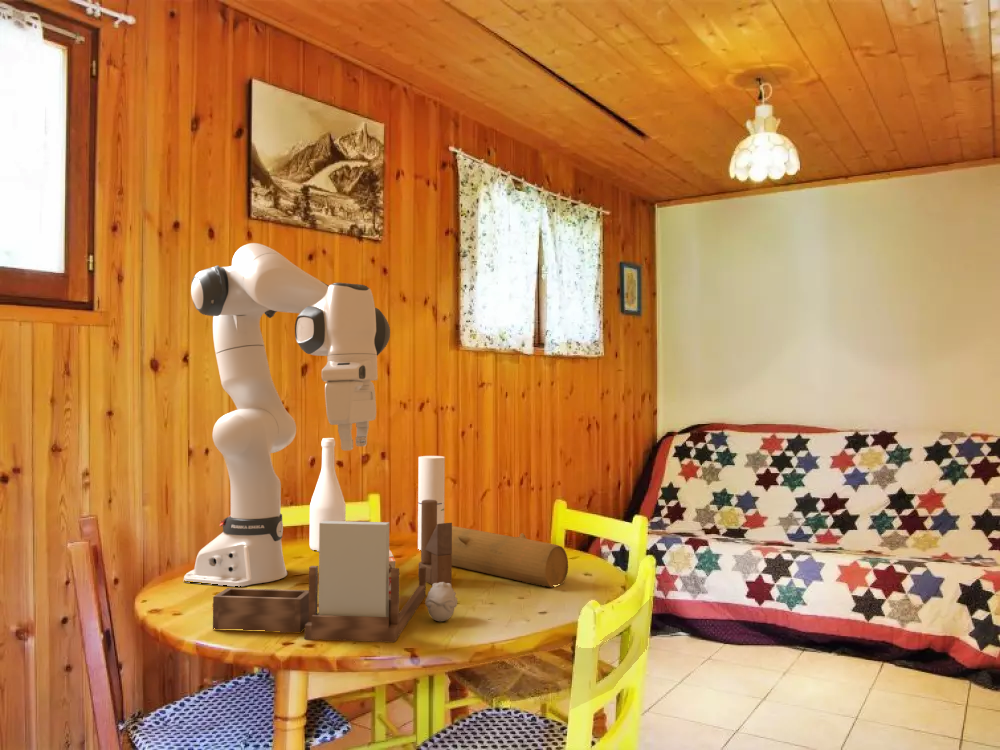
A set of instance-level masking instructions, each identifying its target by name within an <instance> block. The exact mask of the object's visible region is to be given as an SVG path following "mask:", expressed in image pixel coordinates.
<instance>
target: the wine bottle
mask: <svg viewBox="0 0 1000 750" xmlns="http://www.w3.org/2000/svg"><path fill="white" fill-rule="evenodd" d="M320 445H321V448H322V450H321V470H320V473H319V476H318V479H317V482H316V485H315V489H314V491H313V494H312V496H311V501H310V504H309V536H308V537H309V542H308V543H309V548H310V550H312V551H314V550H317V551H316V552H319V523H321V522H323V521H346V511H347V510H346V502H345V497H344V495H343V491H342V488H341V485H340V483H339V480H338V477H337V472H336V468H335V467H336V466H335V447H336V440H335V438H334V437H323V438H322V440H321V444H320Z"/></svg>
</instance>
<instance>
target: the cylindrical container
mask: <svg viewBox="0 0 1000 750" xmlns="http://www.w3.org/2000/svg"><path fill="white" fill-rule="evenodd" d="M445 459H446V457H445V456H442V455H423V456H422V455H420V456H418V469H417V470H418V472H417V473H418V479H417V480H418V486H417V487H418V488H417V490H418V491H417V494H418V495H417V497H418V498H417V502H418V503H417V505H418V506H417V510H418V511H417V550H418V549H419V550H418V551H420V550H421V517H422V501H423V500H436V501H437V524H441V523H445V481H446V480H445V479H446V477H445V471H446V470H445V469H446V468H445V467H446V466H445V462H446V461H445Z"/></svg>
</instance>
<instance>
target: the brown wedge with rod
mask: <svg viewBox="0 0 1000 750" xmlns="http://www.w3.org/2000/svg"><path fill="white" fill-rule="evenodd" d="M452 526H453V523H452V522H444V523H441V524H437V501H436V500H423V501H422V517H421V551H420V552H421V554H420V560H421V561H419V562H418V569H419V568H420V567H426V583H428V584H431V586H432V585H433V584H434V583H439V582H445V583H450V584H451V585H452V570H453V569H452V567H453V566H452V555H451V554H452Z"/></svg>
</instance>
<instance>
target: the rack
mask: <svg viewBox="0 0 1000 750" xmlns="http://www.w3.org/2000/svg"><path fill="white" fill-rule="evenodd" d="M308 590H309V622H308V623H307V624H306V625H305V629H304V640H319V639H323V641H324V640H326V641H351V642H354V641H355V642H377V643H378V642H379V643H380V642H383V643H385V642H386V643H396V641H397V639H398V638H399V637H400V635H401V633H402V632H403V630H404V629H405V627H406V626H407V625H408V623H409V622H410V620H411V619H412V617H413V615H414V614H415V613H416V611H417V610H418V608H419V606H420V605H421V603H422V602H423V600H424V598H426V596H427V595H426V594H427V593H426V592H427V591H426V590H427V582H426V567H420V568H419V567H418V586H417V587H416V589H415V590H414V592H412V595H411V596H410V597H409V598H408V600H407V602H406V603H405V604H404V605H403V607H402V608H401V610H400V568H399V567H395V568H392V569H391V599H389V617H365V616H333V615H319V612H318V606H319V565H311V566H309V568H308Z"/></svg>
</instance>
